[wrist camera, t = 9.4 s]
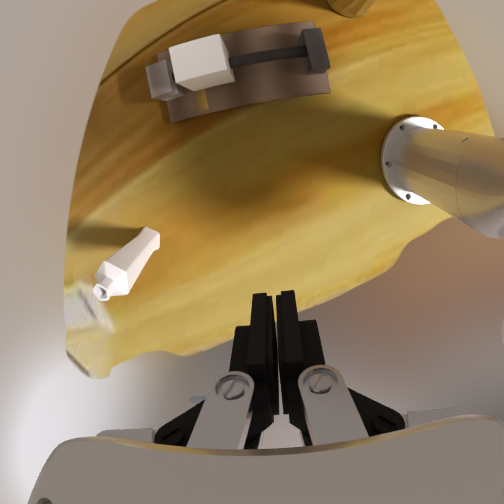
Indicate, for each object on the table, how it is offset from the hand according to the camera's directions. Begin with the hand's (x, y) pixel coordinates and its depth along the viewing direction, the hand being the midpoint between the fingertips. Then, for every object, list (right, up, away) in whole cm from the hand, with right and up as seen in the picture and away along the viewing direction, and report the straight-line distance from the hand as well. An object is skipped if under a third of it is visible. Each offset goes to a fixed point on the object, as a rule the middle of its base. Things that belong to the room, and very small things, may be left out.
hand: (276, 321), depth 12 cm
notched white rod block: (-6, +24, +17) cm, 30 cm away
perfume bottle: (-16, +5, +29) cm, 34 cm away
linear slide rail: (-2, +26, +19) cm, 32 cm away
